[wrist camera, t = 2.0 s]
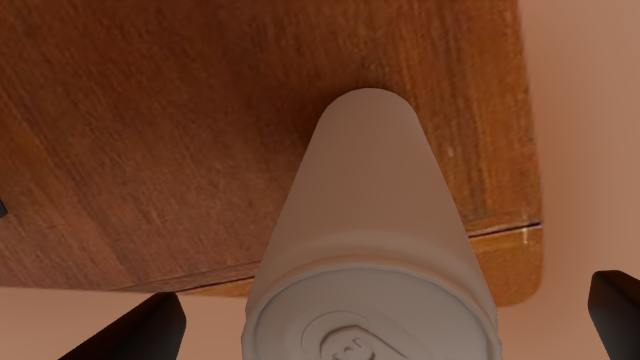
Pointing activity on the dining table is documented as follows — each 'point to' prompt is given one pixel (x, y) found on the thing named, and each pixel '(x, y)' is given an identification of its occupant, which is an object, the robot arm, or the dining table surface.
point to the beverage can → (370, 250)
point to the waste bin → (2, 210)
